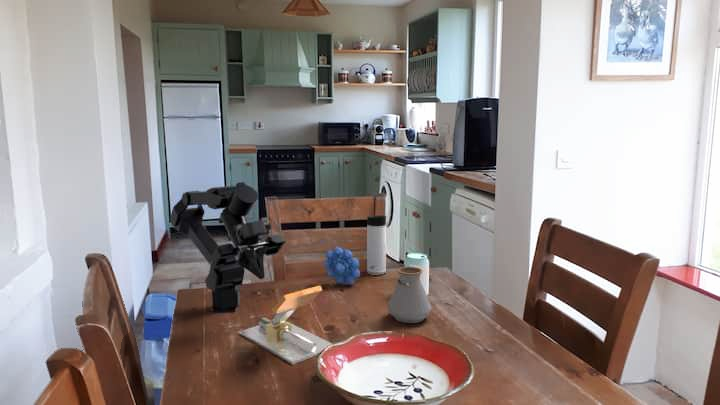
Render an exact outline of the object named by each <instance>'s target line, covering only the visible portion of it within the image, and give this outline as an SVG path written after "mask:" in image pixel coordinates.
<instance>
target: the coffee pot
mask: <svg viewBox="0 0 720 405" xmlns="http://www.w3.org/2000/svg"><path fill="white" fill-rule="evenodd" d="M396 272H397V273H398V275H399V279H397V280H396V281H394V282H393V286H394V290H393V292H392V294H391V298H389V302H388V304H387V309H388V313H389V314H390V315H391V316H392V317H393V318H394V319H395V320H397V321H398V322H401V323H404V324H405V323H406V324H415V323H420V322H422V321H424V320H425V319H426V318H427V317H428V316H429V315H430V314H431V312H432V304H431V302H430V300H429V297H428V295H426V292H425V290H424V287H423V285H422V282H421V280H420V275H421V273H422V269H420V268H416V267H405V266H402V267H399V268H397V269H396ZM396 282H397V284H396V285H395V283H396Z"/></svg>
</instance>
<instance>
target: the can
mask: <svg viewBox="0 0 720 405" xmlns="http://www.w3.org/2000/svg"><path fill="white" fill-rule="evenodd" d="M404 267H416V268H420V269H422V273H421V275H420V280H421V282H422V285H423V287H424V290H425V292H426V295H427V296H428V295H429V292H430V291H429V288H430V286H429V284H430V283H429V282H430V280H429V276H430V261H429V258H428V255H427V254H425V253H420V252H417V253H416V252H413V253H407V255H406V258H405V260H404Z"/></svg>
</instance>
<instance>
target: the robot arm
mask: <svg viewBox="0 0 720 405" xmlns="http://www.w3.org/2000/svg"><path fill="white" fill-rule="evenodd" d="M258 199H259V194H258V191H257V190H255V189H254V188H253V187H252V186H249V185H246V182H241V181H240V182H237V183H236V184H235V185H225V186H216V187H210V188H208V189H206V190H204V191H203V190H202V191H200V190H192V191H185V192H183V194H182V195H181V199H179V201H178V202H177V203H176V204H175V205H174V206H173V207H172V210H171V214H170V224H171V226H173V228H174V229H175V230H176V231H177V232H178V233H180V234H182V235H186V236H188V237H189V238H190V241H191V242H192V243H193V244H194V245H195V247H196V249H197V250H198V252H200V254H201V255H202V256H203V257H204V259H205V260H206V262H207V263H208V265H209V269H208V270H209V271H208V274H207V275H206V276H207V277H205V279H204V282H205V287H206V289H209V290H210V291H211V296H212V300H211V301H212V308H211V310H210V312H211V313H213V312H214V313H217V312H218V313H219V312H221V313H222V312H224V313H225V312H236V310H237V309H238V307H239V306H240V303H241V300H240V298H241V296H240V290H239V289H238V286H242V285H243V282H244V277H245V272H246V271H245V270H247V271H248V272H250V273H251V274H253V276H255V278H256V277H257V279H259V280H263V279H265V266H264V255H265V256H267V257H268V256H272V255H276V254H278V253H279V252H280V251H281V249H282V248H283V246H284V245H285V244H286V243H287V242H286V239H285V238H284V236H283V235H282V234H273V235H269V236H267V237H266V239H265V240H264V241H262V242H259V241H261V240H262V238H263V237H262V235H264V234H267V233H268V231H270V230H271V229H272V224H271V222H270V220H269V218H268V217H261V218H260V219H258V220H256V221H251V222H249V221H248V219H247V217H246V216H248V215H249V214H250V213H251V211H252V210H253V207H254V206H255V205H256V203H257V201H258ZM205 205H206V206H207V208H209V209H212V210H220V209H223V210H222V211H221V212H220V214H219V218H218V224H223V225H224V227H225V229H226V232H227V234H228V237H227V240H228V242H231V243H224V244H218V243H217V242H216V240H215V239H214V238H213V236H212V235H211V234H210V233H209V231H208V230H207V229H206V227H205V226H204V225H203V219H204V216H205V210H204V208H203V206H205ZM189 206H197V207H190V208H189Z"/></svg>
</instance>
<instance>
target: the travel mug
mask: <svg viewBox="0 0 720 405" xmlns="http://www.w3.org/2000/svg"><path fill="white" fill-rule="evenodd" d="M366 226H367V227H366V231H367V232H366V238H367V240H366V243H367V244H366V252H367V253H366V263H367V264H366V267H367V268H366V269H367V270H366V273H367V274H368V275H369V274H384V273H385V272H386V273H387V269H386V268H387V215H383V214H381V215H379V214H378V215H374V216H369V215H368V216H367V225H366ZM386 273H385V274H386ZM385 274H384V275H385Z"/></svg>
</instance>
